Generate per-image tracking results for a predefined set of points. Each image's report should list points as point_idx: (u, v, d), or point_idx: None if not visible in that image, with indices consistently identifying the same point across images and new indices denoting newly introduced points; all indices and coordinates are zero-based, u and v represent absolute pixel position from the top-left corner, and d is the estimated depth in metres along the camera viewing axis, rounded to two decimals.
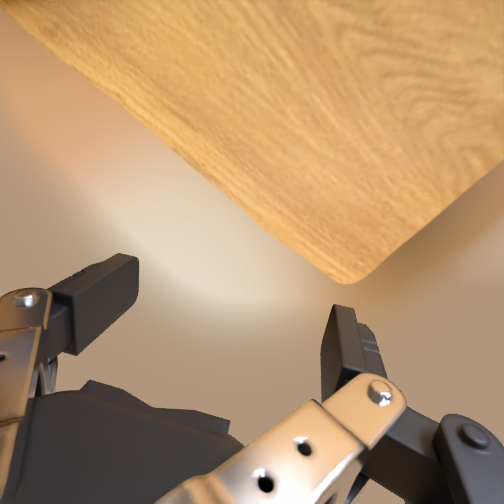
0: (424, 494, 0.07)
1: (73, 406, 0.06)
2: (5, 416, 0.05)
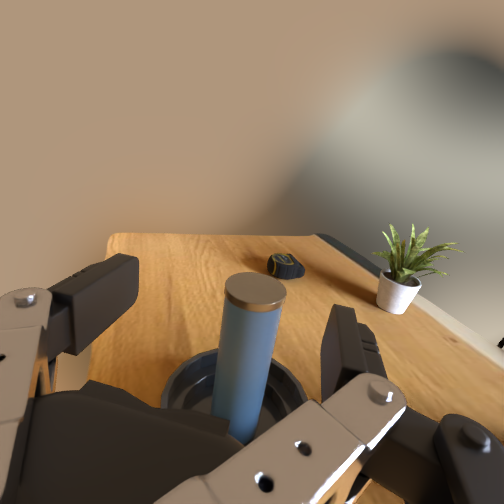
0: (424, 494, 0.07)
1: (73, 406, 0.06)
2: (5, 416, 0.05)
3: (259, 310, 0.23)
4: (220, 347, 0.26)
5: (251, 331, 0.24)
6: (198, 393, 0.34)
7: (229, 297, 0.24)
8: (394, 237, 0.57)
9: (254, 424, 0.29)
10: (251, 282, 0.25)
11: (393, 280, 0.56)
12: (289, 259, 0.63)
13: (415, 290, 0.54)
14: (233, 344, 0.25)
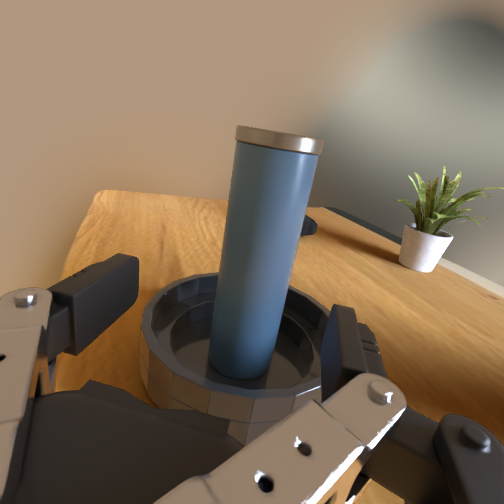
0: (424, 494, 0.07)
1: (73, 406, 0.06)
2: (5, 416, 0.05)
3: (289, 145, 0.15)
4: (227, 227, 0.19)
5: (274, 185, 0.16)
6: (194, 323, 0.26)
7: (243, 134, 0.16)
8: (420, 185, 0.50)
9: (269, 349, 0.21)
10: None
11: None
12: None
13: (447, 242, 0.47)
14: (246, 211, 0.17)
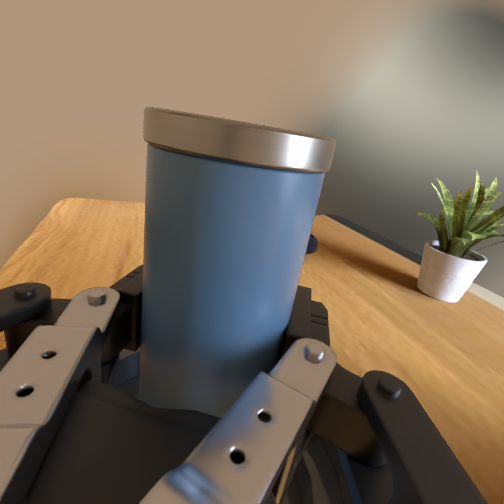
0: (348, 439, 0.08)
1: (73, 406, 0.06)
2: (33, 418, 0.05)
3: (253, 153, 0.06)
4: (142, 314, 0.09)
5: (223, 245, 0.07)
6: None
7: (150, 126, 0.07)
8: (445, 195, 0.41)
9: None
10: None
11: (445, 254, 0.39)
12: None
13: (480, 266, 0.37)
14: (167, 296, 0.08)
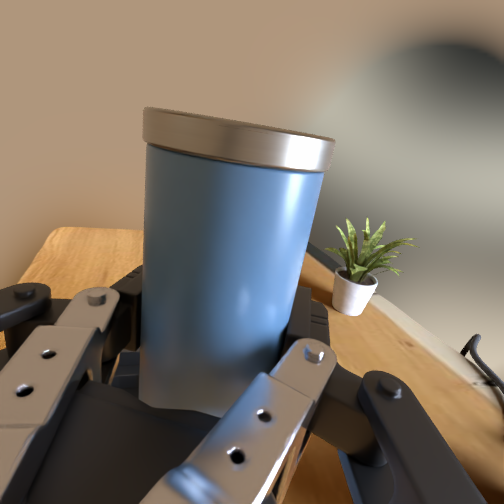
0: (348, 439, 0.08)
1: (73, 406, 0.06)
2: (33, 418, 0.05)
3: (252, 153, 0.06)
4: (141, 314, 0.09)
5: (222, 245, 0.07)
6: None
7: (149, 126, 0.07)
8: (350, 232, 0.53)
9: None
10: None
11: (348, 279, 0.52)
12: None
13: (370, 289, 0.49)
14: (167, 295, 0.08)
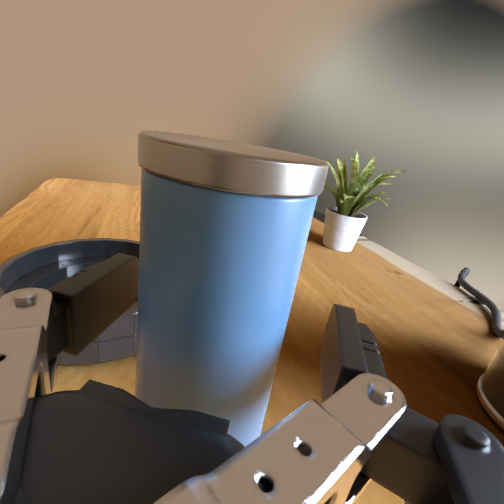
0: (424, 494, 0.07)
1: (73, 406, 0.06)
2: (5, 416, 0.05)
3: (245, 183, 0.06)
4: (137, 332, 0.09)
5: (216, 270, 0.07)
6: None
7: (143, 153, 0.07)
8: (341, 170, 0.53)
9: None
10: (224, 142, 0.09)
11: None
12: None
13: (359, 222, 0.50)
14: (162, 317, 0.08)
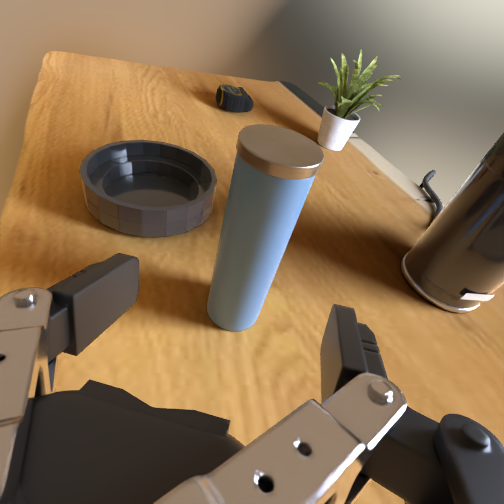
0: (424, 494, 0.07)
1: (73, 406, 0.06)
2: (5, 416, 0.05)
3: (289, 175, 0.16)
4: (226, 225, 0.20)
5: (273, 205, 0.17)
6: (125, 176, 0.38)
7: (245, 155, 0.16)
8: (343, 68, 0.56)
9: (258, 311, 0.26)
10: (275, 137, 0.18)
11: (334, 115, 0.57)
12: (238, 91, 0.62)
13: (352, 124, 0.56)
14: (245, 221, 0.19)
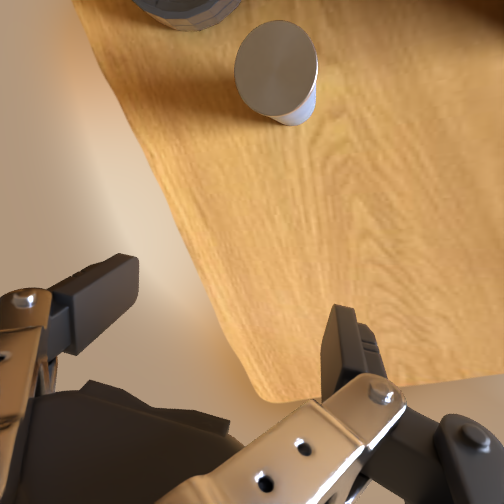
0: (424, 494, 0.07)
1: (73, 406, 0.06)
2: (5, 416, 0.05)
3: (281, 116, 0.19)
4: None
5: (279, 117, 0.21)
6: None
7: (244, 100, 0.19)
8: None
9: (309, 114, 0.31)
10: (268, 59, 0.18)
11: None
12: None
13: None
14: None
